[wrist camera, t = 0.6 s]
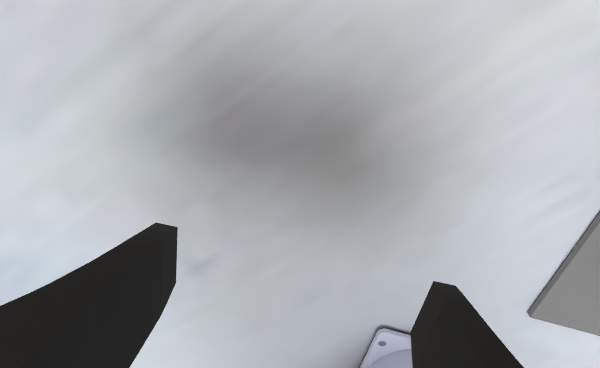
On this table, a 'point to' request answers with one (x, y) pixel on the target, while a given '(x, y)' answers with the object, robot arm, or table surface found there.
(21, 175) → the table surface
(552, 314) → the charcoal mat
